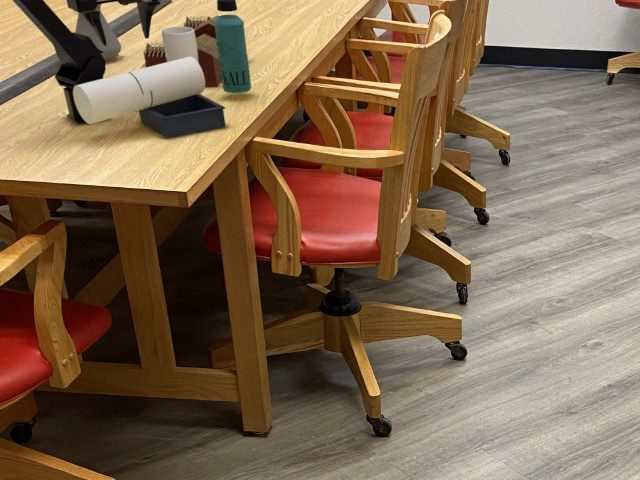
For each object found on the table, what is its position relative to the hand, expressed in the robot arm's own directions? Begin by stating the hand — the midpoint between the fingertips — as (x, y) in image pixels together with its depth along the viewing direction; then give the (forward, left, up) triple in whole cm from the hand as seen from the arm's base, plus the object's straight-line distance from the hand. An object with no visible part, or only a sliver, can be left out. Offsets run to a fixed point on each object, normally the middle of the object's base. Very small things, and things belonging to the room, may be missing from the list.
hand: (126, 41), depth 201 cm
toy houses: (+28, +27, -13) cm, 41 cm away
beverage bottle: (+21, -5, -13) cm, 25 cm away
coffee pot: (+6, +40, -13) cm, 42 cm away
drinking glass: (+10, -4, -13) cm, 17 cm away
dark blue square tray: (+2, -17, -13) cm, 22 cm away
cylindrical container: (-17, -17, -6) cm, 25 cm away
